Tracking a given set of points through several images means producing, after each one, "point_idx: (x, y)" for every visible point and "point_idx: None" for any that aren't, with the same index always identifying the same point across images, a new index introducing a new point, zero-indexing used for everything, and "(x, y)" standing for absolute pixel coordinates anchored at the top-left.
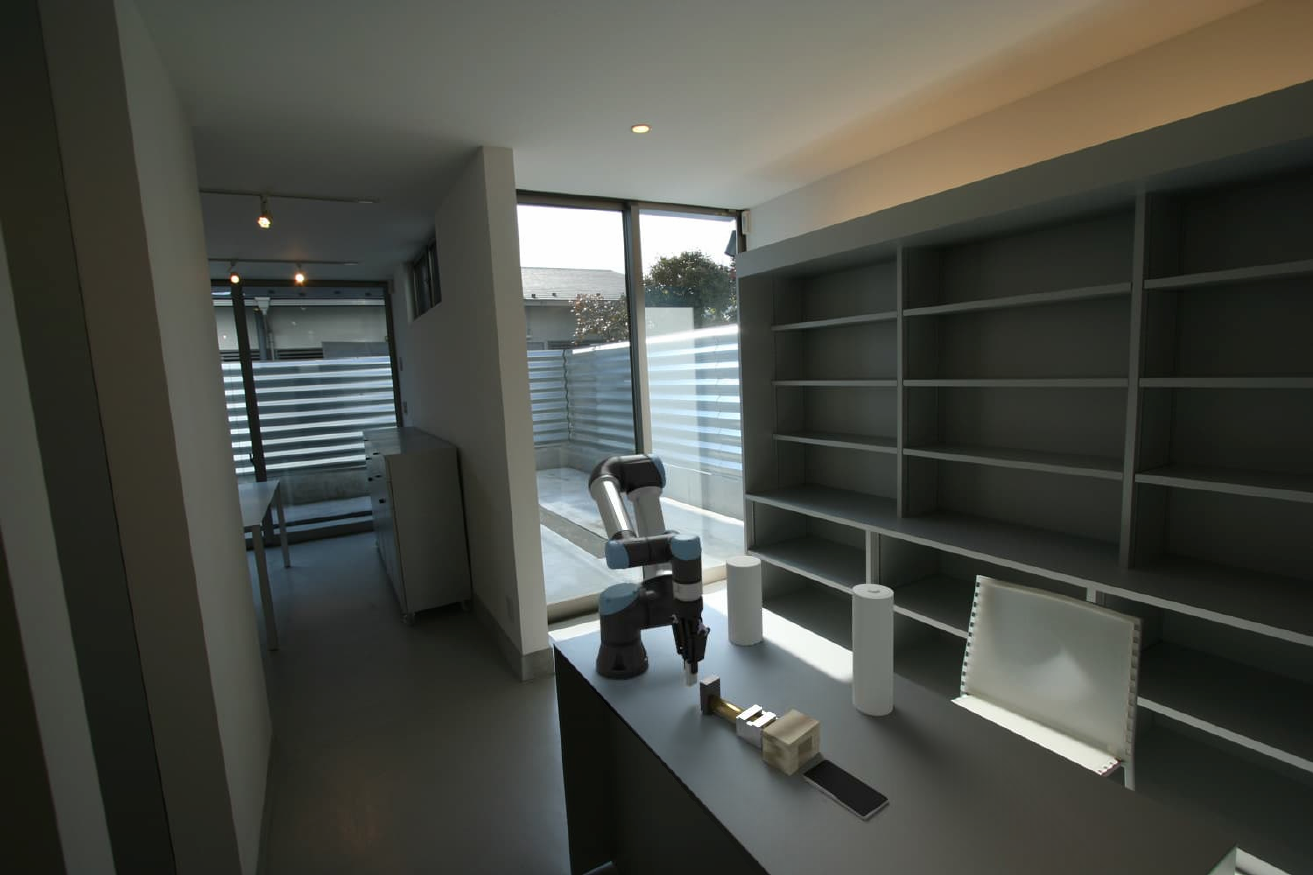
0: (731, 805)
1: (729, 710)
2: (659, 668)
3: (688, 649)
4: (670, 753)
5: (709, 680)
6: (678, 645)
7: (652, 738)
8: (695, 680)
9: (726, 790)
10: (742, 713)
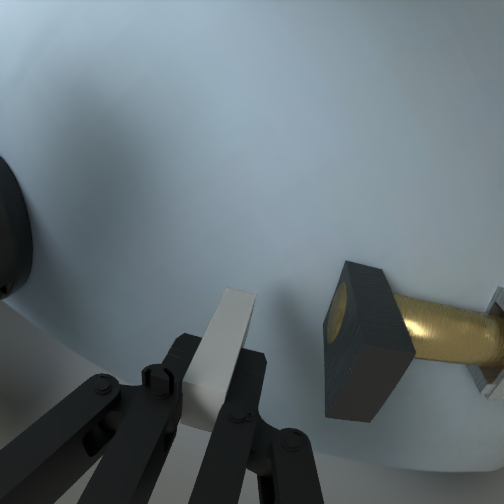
0: (461, 459)
1: (452, 362)
2: (37, 161)
3: (158, 456)
4: (329, 449)
5: (370, 395)
6: (92, 462)
7: None
8: (251, 313)
9: (453, 451)
10: (499, 384)
